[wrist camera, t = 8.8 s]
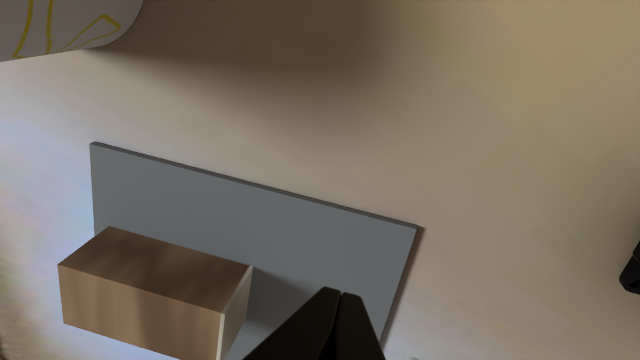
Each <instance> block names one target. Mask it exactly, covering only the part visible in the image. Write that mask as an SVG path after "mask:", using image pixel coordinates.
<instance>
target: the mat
mask: <svg viewBox="0 0 640 360" xmlns="http://www.w3.org/2000/svg"><path fill="white" fill-rule="evenodd" d="M90 161H91V179H92V196H93V214H94V231H95V236H96V235H97V234H99V233H100V232H101V231H103V230H104V229H105V228H107V227H108V226H111V227H115V228H118V229H122V230H126V231H129V232H133V233H136V234H140V235H143V236H147V237H150V238H154V239H157V240H161V241H165V242H168V243H172V244H175V245H179V246H182V247H186V248H189V249H193V250H196V251H200V252H204V253H207V254H211V255H214V256H218V257H221V258H225V259H228V260H232V261H235V262H239V263H243V264H246V265H250V266H253V271H252V278H251V285H250V292H249V299H248V306H247V313H246V319H245V321H244V323H243V325H242V327H241V329H240V331H239V333H238V335H237V337H236V339H235V341H234V342H233V344H232V346H231V348H230V350H229V352H228V354H227V356H226V358H225V360H242V359H243V358H244V357H245V356H246V355H248V354H249V353H250V352H251V351H252V350H253V349H254V348H255V347H256V346H258V345H259V344H260V343H261V342H262V341H263V340H264V339H265V338H266V337H267V336H269V335H270V334H271V333H272V332H273V331H274V330H275V329H276V328H277V327H279V326H280V325H281V324H282V323H283V322H284V321H285V320H286V319H287V318H289V317H290V316H291V315H292V314H293V313H294V312H295V311H296V310H297V309H298V308H300V307H301V306H302V305H303V304H304V303H305V302H306V301H307V300H308V299H310V298H311V297H312V296H313V295H314V294H315V293H316V292H317V291H318V290H320V289H321V288H322V287H324V286H327V287H331V288H334V289H338V290H340V291H341V295H342V293H343V292H348V293H352V294H355V295H359V296H360V297H361V298H362V300H363V302H364V305H365V307H366V310H367V313H368V315H369V318H370V320H371V323H372V325H373V328H374V331H375V333H376V336H377V338H378V341H380V338H381V335H382V332H383V329H384V326H385V323H386V320H387V317H388V314H389V311H390V308H391V305H392V302H393V299H394V296H395V293H396V290H397V287H398V284H399V281H400V278H401V275H402V272H403V269H404V266H405V263H406V260H407V257H408V255H409V252H410V249H411V246H412V243H413V240H414V237H415V234H416V231H417V225H413V224H409V223H405V222H401V221H398V220H394V219H390V218H386V217H382V216H378V215H375V214H371V213H367V212H363V211H359V210H355V209H352V208H348V207H344V206H340V205H336V204H332V203H328V202H325V201H321V200H317V199H313V198H309V197H305V196H302V195H298V194H294V193H290V192H286V191H282V190H279V189H275V188H271V187H267V186H263V185H259V184H256V183H252V182H248V181H244V180H240V179H236V178H232V177H229V176H225V175H221V174H217V173H213V172H209V171H206V170H202V169H198V168H194V167H190V166H186V165H183V164H179V163H175V162H171V161H167V160H163V159H160V158H156V157H152V156H148V155H144V154H140V153H137V152H133V151H129V150H125V149H121V148H117V147H113V146H110V145H106V144H102V143H98V142H92V143H90Z"/></svg>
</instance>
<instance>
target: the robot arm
mask: <svg viewBox="0 0 640 360" xmlns="http://www.w3.org/2000/svg"><path fill="white" fill-rule="evenodd" d="M633 279H637V280H636V281H635V282H633V283H629V282H630V281H631V280H633ZM619 282H620V284H621V285H622V286H623V288H624V289H625V290H626V291H629V292H632V293H636V294H639V295H640V241H639V243H638V245H637V246H636V248H635V250H634V251H633V255H632V257H631V259H630V260H629V262H628V264H627V265H626V267H625V268H624V270H623V272H622V273H621V275H620V277H619ZM242 360H386V359H385V356H384V354H383V351H382V349H381V346H380V343H379V341H378V338H377V336H376V333H375V331H374V328H373V325H372V323H371V320H370V318H369V315H368V313H367V310H366V307H365V305H364V302H363V300H362V298H361V297H360V296H359V295H355V294H352V293H348V292H343V293H342V295H341V291H340V290H338V289H334V288H331V287H327V286H324V287H322V288H321V289H320V290H318V291H317V292H316V293H315V294H314V295H313V296H312V297H311V298H310V299H308V300H307V301H306V302H305V303H304V304H303V305H302V306H301V307H300V308H298V309H297V310H296V311H295V312H294V313H293V314H292V315H291V316H290V317H289V318H287V319H286V320H285V321H284V322H283V323H282V324H281V325H280V326H279V327H277V328H276V329H275V330H274V331H273V332H272V333H271V334H270V335H269V336H267V337H266V338H265V339H264V340H263V341H262V342H261V343H260V344H259V345H258V346H256V347H255V348H254V349H253V350H252V351H251V352H250V353H249V354H248V355H246V356H245V357H244V358H243V359H242Z"/></svg>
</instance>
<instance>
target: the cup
mask: <svg viewBox="0 0 640 360" xmlns="http://www.w3.org/2000/svg"><path fill="white" fill-rule="evenodd" d="M142 4H143V0H0V62H3V61H9V60H16V59H22V58H29V57H35V56H42V55H48V54H55V53H61V52H68V51H74V50H81V49H87V48H93V47H99V46H103V45H106V44H109V43H111V42H113V41H115V40H116V39H118V38H119V37H121V36H122V35H123V34H124V33H125V32H126V31H127V30H128V29H129V28H130V27H131V25H132V24H133V23H134V21H135V19H136V18H137V16H138V14H139V12H140V9H141V6H142Z"/></svg>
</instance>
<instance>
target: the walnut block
mask: <svg viewBox="0 0 640 360" xmlns="http://www.w3.org/2000/svg"><path fill="white" fill-rule="evenodd" d="M252 271H253V266H250V265H246V264H243V263H239V262H235V261H232V260H228V259H225V258H221V257H218V256H214V255H211V254H207V253H204V252H200V251H196V250H193V249H189V248H186V247H182V246H179V245H175V244H172V243H168V242H165V241H161V240H157V239H154V238H150V237H147V236H143V235H140V234H136V233H133V232H129V231H126V230H122V229H118V228H115V227H111V226H108V227H107V228H105V229H104V230H103V231H101V232H100V233H99V234H97V235H96V236H95V237H93V238H92V239H91V240H89V241H88V242H87V243H85V244H84V245H83V246H81V247H80V248H79V249H77V250H76V251H75V252H73V253H72V254H71V255H70V256H68V257H67V258H66V259H64V260H63V261H62V262H60V263H59V264H58V274H59V284H60V293H61V303H62V312H63V321H64V324H68V325H71V326H74V327H77V328H80V329H84V330H87V331H90V332H93V333H97V334H100V335H103V336H106V337H109V338H113V339H116V340H119V341H122V342H125V343H129V344H132V345H135V346H138V347H141V348H145V349H148V350H151V351H154V352H158V353H161V354H164V355H167V356H170V357H174V358H177V359H180V360H225V358H226V356H227V354H228V352H229V350H230V348H231V346H232V344H233V342H234V341H235V339H236V337H237V335H238V333H239V331H240V329H241V327H242V325H243V323H244V321H245V319H246V313H247V306H248V299H249V292H250V285H251V278H252Z"/></svg>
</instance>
